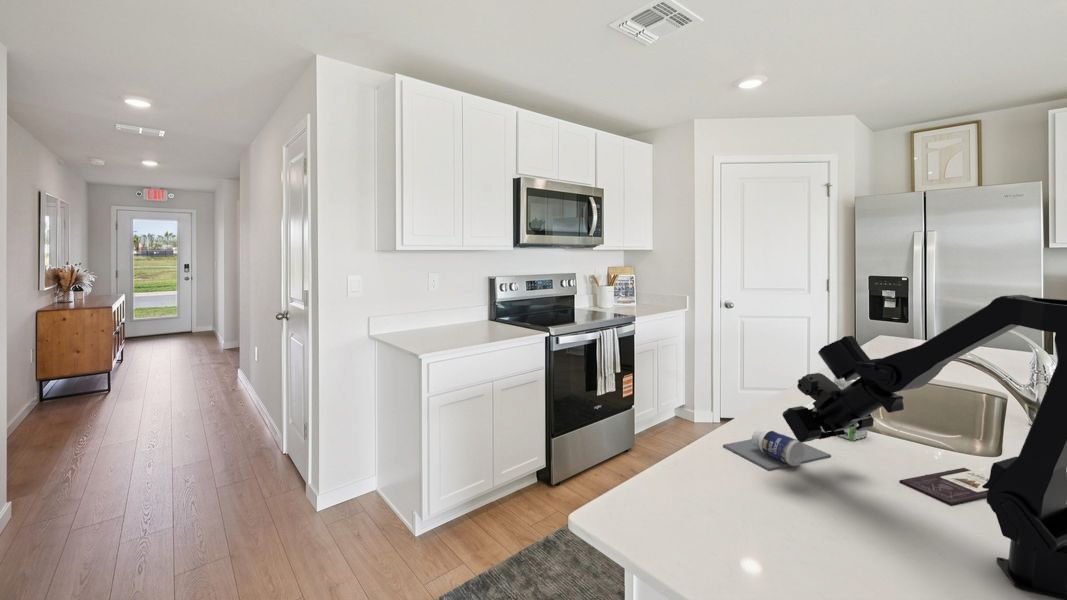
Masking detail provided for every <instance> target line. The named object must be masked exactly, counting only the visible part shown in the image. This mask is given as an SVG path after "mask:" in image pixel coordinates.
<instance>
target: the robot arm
mask: <svg viewBox="0 0 1067 600" xmlns="http://www.w3.org/2000/svg"><path fill="white" fill-rule="evenodd" d="M1019 326H1020V327H1025V328H1029V329H1032V330H1037V331H1041V332H1049V333H1055V334H1054V346H1055V352H1056V358H1057V362H1056V366H1055V368H1054V371H1053V373H1052V376H1051V378H1050V380H1049V383H1048V385H1047V387H1046V390H1045V393H1044V395H1043V398H1042V399H1041V402H1040V404H1039V407H1038V409H1037V412H1036V414H1035V416H1034V419H1033V420H1032V423H1031V426H1030V428H1029V430H1028V433H1027V435H1026V438H1025V439H1024V443H1023V445H1022V448H1021V450H1020V452H1019V454H1018V456H1013V457H1010V458H1005V459H1003V460H999V461H995V462H993V463H992V465H991V467H990V472H989V473H990V474H989V477H990V478H989V480H988V481H987V483H986V484H984V485H983V486H982V487H983V488H985V489H988V491H987V493H986V499H985V500H986V504H988V505H989V507H990V509H991V510H992V511H993V513H994V514H995V516H996V518H997V521H998V525H999V529H1000V531H1001V534H1002V536H1003V537H1005V538H1007V539H1009V540H1010V543H1009V551H1008V553H1009V554H1008V558H1004V557H996V562H997V564H998V565H999V566H1000V568H1001V569H1002V570H1003V572H1004V573H1005V575H1006V576H1007V577H1008V579H1009V580H1010V582H1012V584H1013V585H1014V587H1016V588H1018V589H1021V590H1025V591H1028V592H1029V591H1030V592H1034V593H1039V594H1041V595H1042V594H1043V595H1048V596H1051V597H1056V598H1060V599H1065V600H1067V299H1060V298H1059V299H1058V298H1047V297H1046V298H1044V297H1035V296H1034V297H1033V296H1030V295H1024V294H1014V295H1013V294H1010V295H1001V296H998V297H996V298H994V299H992V300H991V301H990V302H989V304H988V305H985V306H984V307H983V308H981V309H979V310H977V311H976V312H974V313H972V314H970V315H969V316H967V317H965V318H963V319H962V320H960V321H958V322H957V323H955V324H953V325H952V326H950V327H949V328H947V329H945V330H944V331H943V330H942V332H940V333H939V334H937V335H935V336H933V337H932V338H930V339H928V340H926V341H925V342H924V343H921V344H920V345H917V346H914V347H911V348H909V349H908V348H907V349H904V350H902V351H897V352H895V353H892V354H890V355H889V354H888V355H887V356H884V357H880V358H879V357H878V358H872V359H871V358H870V357H869V355H868V354H866V352H865V350H863V348H862V347H861V346H860V344H859V343H858V341H857V339H856V338H855V337H854V336H853V335H845V336H843V337H842V338H840V339H838V340H835V341H833V342H831V343H829V344H827V345H824V346H823V347H821V348H820V349H819V351H818V352H817V354H818V355H819V356H820V358H821V359H822V361H823V363H825V365H826V366H827V367H828V369H829V370H830V371H831V373H832V375H833V376H834V377H836V378H837V379H838V380H839V379H843V378H844V379H845V381H851V380H854V379H856V378H858V377H859V379H857V380H856V381H854V382H853V383H851V384H850V385H848V386H847V387H845V388H844V389H842V390H841V389H840V388H839V387H838V386H837V385H836V384H835V383H834V381H833V380H831V379H830V378H829V377H827V376H826V375H825V374H822V373H821V372H815V373H807V374H806V375H804V376H801V378H799V379H797V389H798V390H799V391H800V392H801V393H802V394H803V395H805V396H809V397H810V398H811V399H812V400H814V402H812V405H813V406H814V409H816V411H814V410H813V408H808V407H806V406H803V405H798V406H794V407H788V408H787V409H785V410H784V411H783V412H782V414H781V415H782V417H783V419H784V420H785V422H786V424H787V426H789V429H790V430H791V432H792V433H793V435H794V437H795V438H796V440H798V441H800V442H801V443H806V442H807V443H808V442H811V441H815V440H823V439H829V438H831V437H832V438H833V437H838V436H839V435H844V434H845V431H844V430H845V429H850V428H852V427H854V426H855V425H854V423H856V422H857V423H858V425H859V426H857V427H856V428H855V429H856V430H857V431H862V430H867V431H868V429H870V428H872V427H873V426H874V418H873V416H872V414H873V412H875V411H877V410H879V409H880V408H882V407H883V408H884V409H885V411H886V412H887V413H889V414H890V413H895V412H896V413H897V412H901V411H903V410H904V409H905V408H904V405H905V404H904V402H903V400H904V397H903V395H899V394H897V392H904V391H905V392H906V391H909V390H915V389H921V388H923V387H925V386H926V385H927V384H928V383H929V382H930V381H932V380H933V379H934V378H936V377H937V376H938V375H939V373H941V371H942V370H943V368H945V367H946V366H947V365H948V364H949V363H951V362H953V361H956V360H957V359H959V358H961V357H962V356H965V355H966V354H968V353H970V352H971V351H974V350H976V349H978V348H980V347H981V346H983V345H985V344H987V343H988V342H991V341H992V340H995V339H996V338H998V337H1000V336H1002V335H1004V334H1006V333H1007V332H1009V331H1011V330H1013V329H1015V328H1017V327H1019ZM839 437H840V436H839Z"/></svg>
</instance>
